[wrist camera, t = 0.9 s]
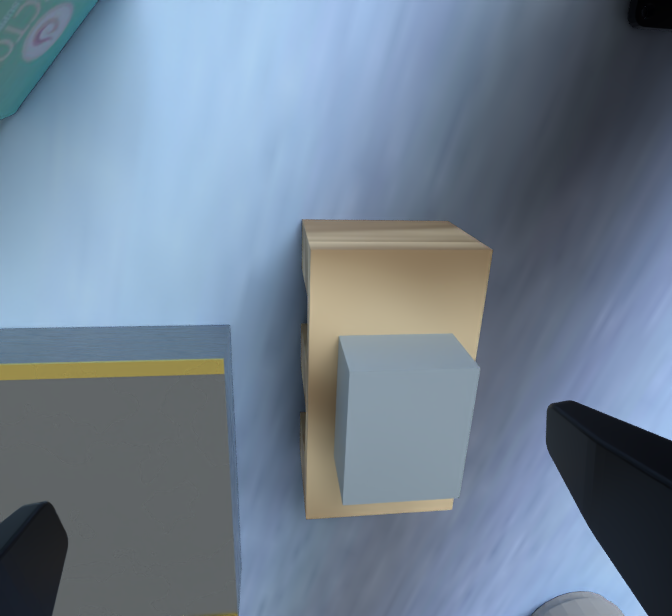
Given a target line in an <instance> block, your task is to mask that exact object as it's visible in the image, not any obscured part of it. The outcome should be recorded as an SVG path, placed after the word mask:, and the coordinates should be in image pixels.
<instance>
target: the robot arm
mask: <svg viewBox="0 0 672 616" xmlns="http://www.w3.org/2000/svg"><path fill="white" fill-rule="evenodd" d="M644 6H646V8H647V15H646V17H645V19H644V18H643V17H642V9H643V7H644ZM628 21H629V24H630V25H631V26H632V27H633V28H636V29H647V30H663V31H672V0H631V2H630V6H629V11H628ZM546 445H547V449H548V451H549V454H550V456H551V458H552V459H553V461H554V463H555V465H556V467H557V469H558V471H559V473H560V474H561V476H562V478H563V480H564V482H565V484H566V486H567V488H568V489H569V491H570V493H571V495H572V497H573V499H574V501H575V503H576V504H577V506H578V508H579V510H580V512H581V514H582V516H583V517H584V519H585V521H586V523H587V524H588V526H589V528H590V530H591V531H592V533H593V534H594V536H595V537H596V539H597V540H598V542H599V543H600V545H601V546H602V548H603V549H604V551H605V552H606V554H607V555H608V557H609V558H610V560H611V561H612V563H613V564H614V566H615V567H616V569H617V570H618V572H619V573H620V575H621V576H622V578H623V579H624V581H625V582H626V583H627V585H628V586H629V588H630V589H631V591H632V592H633V594H634V595H635V597H636V598H637V600H638V601H639V603H640V604H641V606H642V607H643V609H644V610H645V612H646V613H647V615H648V616H672V441H671V440H669V439H666V438H664V437H661V436H659V435H656V434H654V433H651V432H649V431H646V430H644V429H642V428H639V427H637V426H634V425H632V424H629V423H627V422H624V421H622V420H619V419H617V418H614V417H612V416H609V415H607V414H604V413H602V412H599V411H597V410H595V409H592V408H590V407H587V406H585V405H582V404H580V403H577V402H575V401H571V400H568V401H562V402H557V403H552V404H550V405H549V406H548V408H547V420H546ZM67 550H68V536H67V533H66V531H65V529H64V527H63V525H62V523H61V521H60V518H59V516H58V514H57V512H56V510H55V508H54V506H53V505H52V504H51V503H50V502H48V501H41V502H36V503H30V504H26V505H23V506H21V507H20V508H18V509H17V510H16V511H15V512H13V513H12V514H11V515H10V516H8V517H7V518H6V519H4V520H3V521H2V522H1V523H0V616H52V615H53V610H54V606H55V602H56V597H57V593H58V589H59V585H60V580H61V576H62V572H63V567H64V563H65V559H66V555H67Z"/></svg>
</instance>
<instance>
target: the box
mask: <svg viewBox="0 0 672 616" xmlns="http://www.w3.org/2000/svg"><path fill="white" fill-rule="evenodd" d="M97 1H98V0H0V120H1V119H3V118H6V117H8V116H10V115H12V114H14V113H16V111H17V110H18V108H19V107H20V105H21V104H22V102H23V101H24V100H25V98H26V97H27V96H28V94H29V93H30V92H31V90H32V89H33V88H34V87H35V85H36V84H37V83H38V81H39V80H40V79H41V77H42V76H43V74H44V73H45V72H46V70H47V69H48V68H49V66H50V65H51V63H52V62H53V61H54V59H55V58H56V57H57V55H58V54H59V53H60V51H61V50H62V48H63V47H64V46H65V44H66V43H67V42H68V40H69V39H70V38H71V36H72V35H73V34H74V32H75V31H76V30H77V28H78V27H79V26H80V24H81V23H82V22H83V20H84V19H85V17H86V16H87V15H88V13H89V12H90V11H91V9H92V8H93V7H94V5H95V4H96V3H97Z"/></svg>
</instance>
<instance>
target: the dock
mask: <svg viewBox="0 0 672 616" xmlns="http://www.w3.org/2000/svg"><path fill="white" fill-rule="evenodd" d="M41 501H48V502H50V503H51V504H52V505H53V506H54V508H55V510H56V512H57V514H58V516H59V518H60V521H61V523H62V525H63V527H64V529H65V531H66V533H67V536H68V550H67V555H66V559H65V563H64V567H63V572H62V576H61V580H60V585H59V589H58V593H57V597H56V602H55V606H54V610H53V615H52V616H239V601H240V585H241V569H242V567H241V546H240V525H239V504H238V483H237V463H236V442H235V421H234V400H233V379H232V358H231V337H230V325H200V326H138V327H77V328H15V329H0V523H1V522H2V521H3V520H4V519H6V518H7V517H8V516H10V515H11V514H12V513H13V512H15V511H16V510H17V509H18V508H20V507H21V506H23V505H26V504H30V503H36V502H41Z"/></svg>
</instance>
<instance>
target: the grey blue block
mask: <svg viewBox="0 0 672 616" xmlns="http://www.w3.org/2000/svg"><path fill="white" fill-rule="evenodd" d="M479 374H480V367H479V366H478V365H477V363H476V362H475V361H474V360H473V358H472V357H471V356H470V355H469V353H468V352H467V351H466V350H465V348H464V347H463V346H462V345H461V343H460V342H459V341H458V340H457V338H456V337H455V336H454V335H453V333H449V334H398V335H348V336H339V344H338V368H337V391H336V415H335V439H334V460H335V466H336V471H337V477H338V482H339V488H340V493H341V499H342V504H343V505H356V504H372V503H388V502H404V501H420V500H436V499H451V498H459V496H460V490H461V484H462V478H463V472H464V466H465V460H466V454H467V447H468V441H469V435H470V429H471V423H472V417H473V411H474V405H475V398H476V392H477V386H478V380H479Z"/></svg>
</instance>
